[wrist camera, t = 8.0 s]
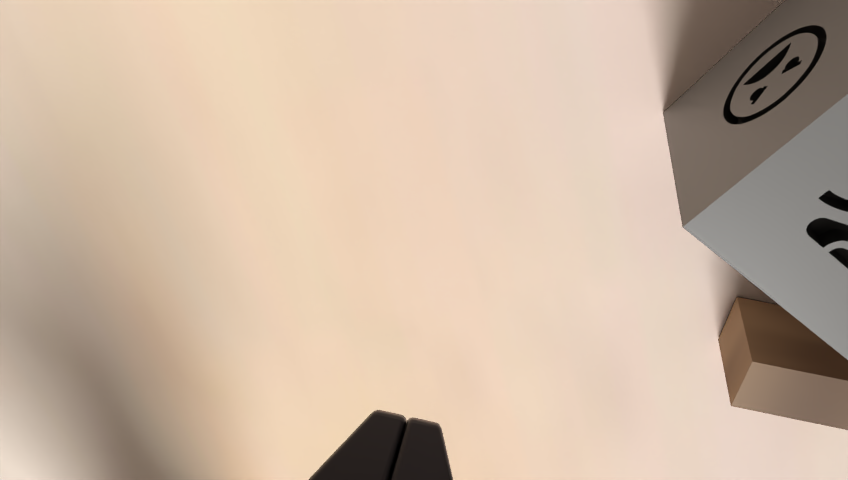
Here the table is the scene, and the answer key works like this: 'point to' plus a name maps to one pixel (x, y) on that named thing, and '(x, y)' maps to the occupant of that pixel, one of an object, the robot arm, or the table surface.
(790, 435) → the table surface
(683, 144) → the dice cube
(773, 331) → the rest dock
